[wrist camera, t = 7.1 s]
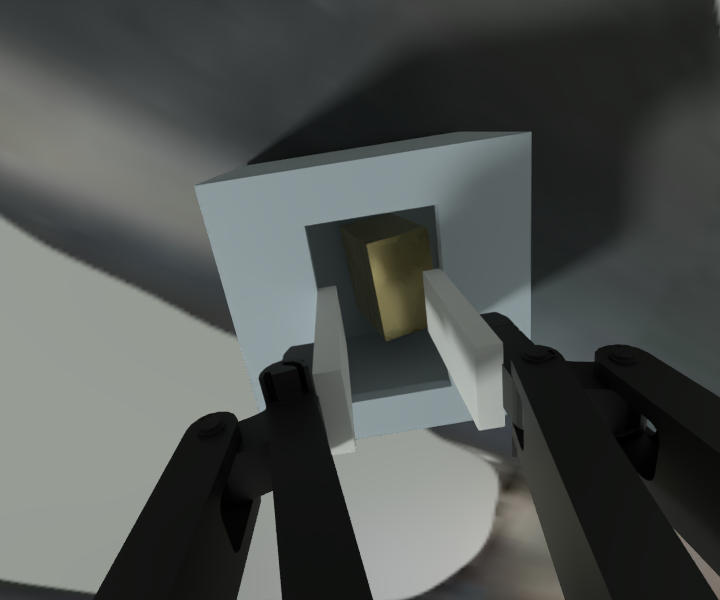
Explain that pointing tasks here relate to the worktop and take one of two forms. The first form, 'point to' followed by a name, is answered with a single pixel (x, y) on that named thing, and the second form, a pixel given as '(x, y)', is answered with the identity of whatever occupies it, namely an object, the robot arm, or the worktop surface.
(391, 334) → the block
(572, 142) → the worktop surface
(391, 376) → the grey square hollow box
